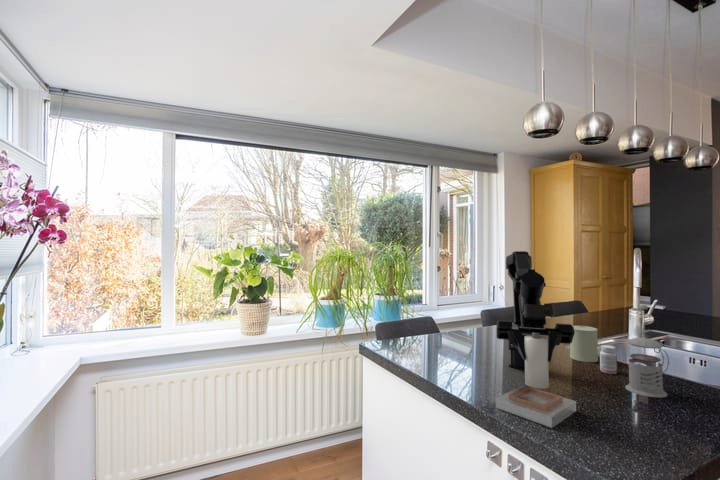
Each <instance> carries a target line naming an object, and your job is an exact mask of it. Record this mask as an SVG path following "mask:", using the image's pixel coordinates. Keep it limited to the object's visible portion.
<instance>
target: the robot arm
mask: <svg viewBox="0 0 720 480" xmlns="http://www.w3.org/2000/svg"><path fill="white" fill-rule="evenodd" d="M505 258H506V259H505V269H506V270H507V275H508V277H510V279H511V281H512V293H513V295H512V297H513V315H514V318H513V319H514V321H512V320H503V319H502V320H501V319H500V320H497V322H496V339H498V340H506V341H507V348H508V350H509V351H510V364H508V367H510V368H513V369H518V370H521V371H524V372H525V359H526V358H525V343H524V337H525V336H528V335H532V333H533V332H536V333H540V336H542V337H547V338H548V363H551V362H552V357H553V353H554V349H555V347H556V346H557V347H558V346H560V344H562V345H565V344H567V345H570V343H572V340H573V337H574V333H575V331H574V327H573V326H574V325H572V324H571V323H560V322H559V323H558V322H557V323H555V326H554V327H552V328H550V327H545V326H546V325H547V319H546V317H547V318H548V317H549V318H552V317H553V315H554V308H553V307H554V306H553V304H552V303H543V304H542V302H541V298H542V297H543V292H544V288H545V287H546V286H547V285H546V282H545V277H544V276H543V275H542V274H541V273H538V272H537V271H536V269H534V268H533V269H532V267H533V261H532V259H533V258H532V256H531V255H530V253H529V251H526V250H524V251H523V250H522V251H521V250H520V251H518V250H515V251H513V252H512V253H511V254H509V255H507V256H506V257H505Z"/></svg>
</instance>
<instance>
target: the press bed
mask: <svg viewBox="0 0 720 480" xmlns="http://www.w3.org/2000/svg"><path fill="white" fill-rule="evenodd" d="M495 409H498V410H502V411H503V412H506V413H509V414H511V415H512V414H513V415H515V416H518V417H520V418H523V419H524V420H525V419H526V420H528V421H530V422H531V421H532V422H534V423H537V424H540V425H543V426H545V427H548V428H550V429H553V428H555V427H556V426H557V425H559V424H561V422H563V421H564V420H566V419H567V418H569V417H570V416H571V415H573V414H575V412H577V401H576V400H573V399H571V398H566V397H563V396H562V395H558V394H554V393H551V392H548V391H545V390H542V389H539V388H533V387H530V386H528V385H520V386H517V388H514V389H512V390H510V391H508V392H505V393H504V394H502V395H500V396H498V397H496V398H495Z"/></svg>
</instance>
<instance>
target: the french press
mask: <svg viewBox="0 0 720 480" xmlns="http://www.w3.org/2000/svg"><path fill="white" fill-rule="evenodd" d="M648 308H649V307H648V305H646V304H641V305H639V309H640V310H643V313H642V314H643V316H645V310H649V309H648ZM645 323H646V321H645V317H643V337H635V338H631V339H628V340H627V342H628V343H627V344H628V345H631V346H633V347H638V348H643V351H644V353H631V354H629V357H630V358H629V359H628V368H629V369H628V381H629V382H628V384H626V385H625V386H624V388H625V390H627V391H629V392H631V393H634V394H636V395H638V396H639V395H640V396H644V397H648V398H649V397H651V398H661V399H663V398H667V397H668V396H669V394H668V393H667V392H666V391H665V390H664V380H663V379H664V378H663V374H664V373H666V372H667V371H668V368H669V365H670V358H669V355H668V353H667V351H666V350H664V349H663V344H662V343H660V342H659V341H657V340H656V339H655V340H654V339H653V338H652V339H651V338H647V337H646V329H645V328H646V327H645ZM646 349H652V350H653V351H654V353H657V354H661V356H662V360H661V358H660V357H658V356H657V355H656V356H655V355H651V354H647V353H646ZM656 350H658V351H656ZM662 351H663V352H664V353H665V355H666V358H667V366H666V368H665V370H664V371H663V366H664V364H665V363H664V362H665V356H664V354H663V352H662ZM661 361H662V362H661ZM660 362H661V363H660ZM639 363H640V364H639ZM657 363H658V365H657ZM643 364H644V365H643ZM657 372H658V373H657Z"/></svg>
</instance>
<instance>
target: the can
mask: <svg viewBox="0 0 720 480" xmlns="http://www.w3.org/2000/svg"><path fill="white" fill-rule="evenodd" d="M572 326H573V327H574V331H575V333H574V337H573V340H572V343H570V344H569V345H570V346H569V351H570V352H569V358H570V359H572V360H574V361H578V362H583V363H596V362H599V349H598V348H599V347H598V346H599V345H598V342H599V341H598V328H596V327H593V326H587V325H572Z"/></svg>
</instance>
